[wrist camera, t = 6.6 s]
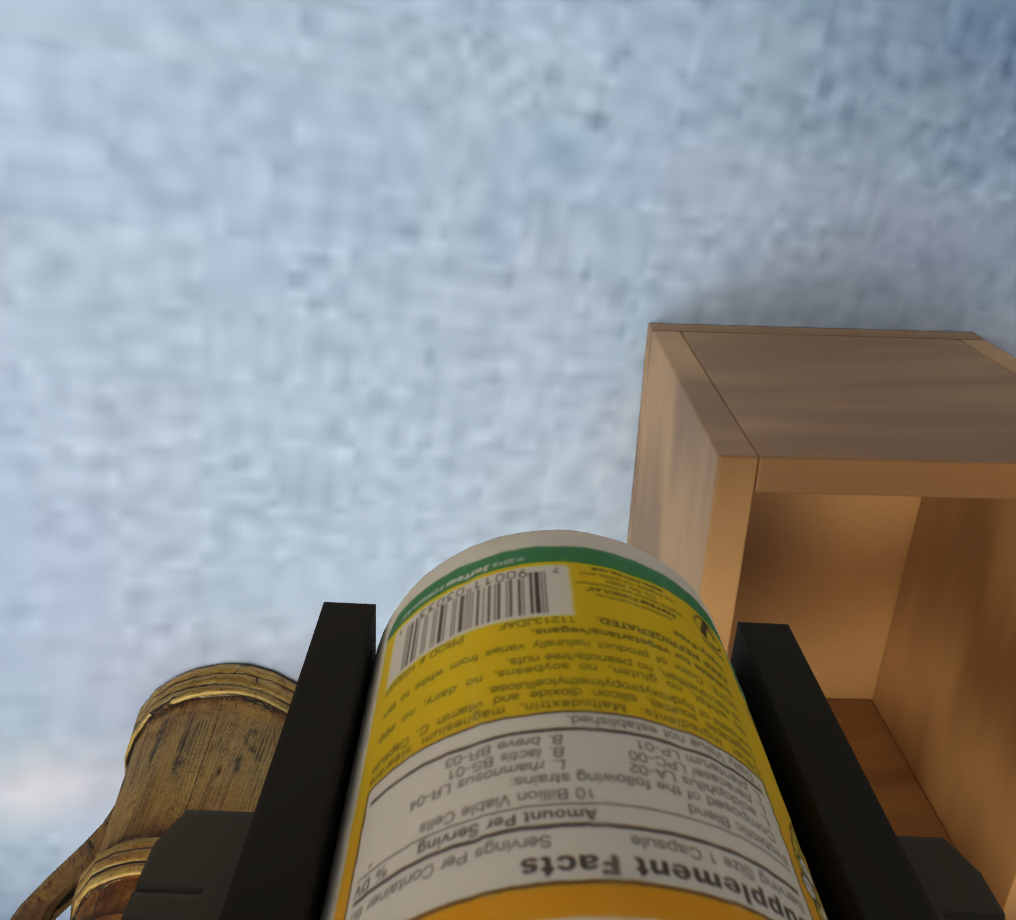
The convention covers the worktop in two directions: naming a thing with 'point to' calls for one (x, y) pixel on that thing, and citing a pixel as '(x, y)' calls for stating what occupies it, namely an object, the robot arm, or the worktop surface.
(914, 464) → the chest
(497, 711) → the supplement bottle
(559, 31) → the worktop surface
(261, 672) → the wooden mug
